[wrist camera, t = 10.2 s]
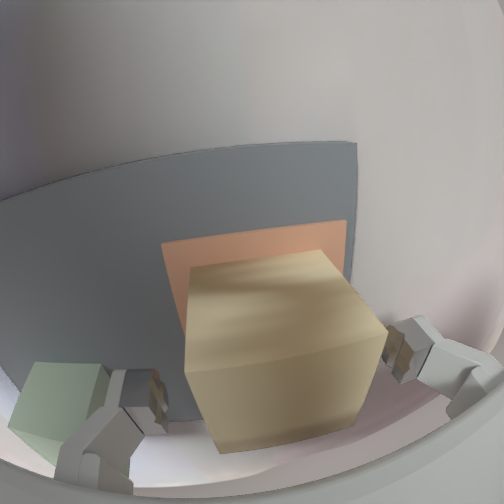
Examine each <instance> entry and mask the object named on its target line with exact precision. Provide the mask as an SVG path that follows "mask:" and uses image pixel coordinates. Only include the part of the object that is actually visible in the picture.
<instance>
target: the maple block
mask: <svg viewBox="0 0 504 504" xmlns="http://www.w3.org/2000/svg"><path fill="white" fill-rule="evenodd" d="M387 335H388V331H387V330H386V328H385V327H384V326H383V324H382V323H381V322H380V321H379V319H378V318H377V317H376V316H375V314H374V313H373V312H372V311H371V309H370V308H369V307H368V306H367V304H366V303H365V302H364V301H363V299H362V298H361V297H360V296H359V294H358V293H357V292H356V291H355V290H354V288H353V287H352V286H351V285H350V284H349V282H348V281H347V280H346V279H345V278H344V276H343V275H342V274H341V273H340V272H339V270H338V269H337V268H336V267H335V266H334V265H333V263H332V262H331V261H330V260H329V259H328V258H327V256H326V255H325V254H324V253H323V252H322V251H321V250H314V251H306V252H299V253H292V254H285V255H278V256H270V257H263V258H256V259H249V260H241V261H234V262H226V263H219V264H211V265H204V266H196V267H190V278H189V290H188V304H187V320H186V339H185V365H184V373H185V376H186V378H187V381H188V383H189V386H190V388H191V391H192V393H193V396H194V398H195V401H196V403H197V405H198V408H199V410H200V412H201V415H202V417H203V419H204V421H205V424H206V426H207V428H208V430H209V432H210V435H211V437H212V439H213V441H214V443H215V445H216V447H217V449H218V451H219V453H220V454H225V453H234V452H242V451H249V450H256V449H262V448H268V447H273V446H279V445H284V444H288V443H293V442H297V441H301V440H306V439H309V438H313V437H317V436H321V435H324V434H328V433H331V432H335V431H338V430H341V429H344V428H347V427H350V426H353V425H354V423H355V420H356V418H357V416H358V414H359V412H360V409H361V407H362V405H363V402H364V400H365V397H366V395H367V392H368V390H369V387H370V385H371V382H372V380H373V377H374V374H375V372H376V369H377V366H378V363H379V360H380V357H381V354H382V351H383V348H384V345H385V342H386V339H387Z"/></svg>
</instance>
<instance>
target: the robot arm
mask: <svg viewBox="0 0 504 504" xmlns="http://www.w3.org/2000/svg"><path fill="white" fill-rule="evenodd" d="M386 330H387V331H388V335H387V339H386V342H385V345H384V348H383V351H382V354H381V355H382V358H383V360H384V362H385V364H386V365H388V366H390V367H392V374H393V376H394V377H395V379H396V380H397V382H398V383H399V385H401V384H404V383H406V382H409V381H411V380H413V379H416V378H417V379H418V380H419V381H421V382H423V383H424V384H426V385H428V386H429V387H431V388H433V389H434V390H436V391H438V392H439V393H441V394H443V395H445V396H446V397H448V398H450V399H451V400H452V401H451V402H450V404H449V405H448V406H447V408H446V413H447V414H448V416H449V417H450V419H451V421H449V422H448V423H446V424H444V425H443V426H441V427H439V428H438V429H436V430H435V431H433V432H431V433H429V434H428V435H426V436H424V437H422V438H420V439H419V440H417V441H415V442H413V443H411V444H409V445H407V446H405V447H403V448H401V449H399V450H397V451H395V452H393V453H390V454H388V455H386V456H384V457H381V458H379V459H377V460H374V461H372V462H369V463H367V464H364V465H362V466H359V467H356V468H354V469H351V470H348V471H345V472H342V473H339V474H336V475H333V476H330V477H326V478H323V479H320V480H316V481H312V482H308V483H305V484H300V485H296V486H292V487H287V488H282V489H277V490H272V491H266V492H260V493H253V494H246V495H238V496H227V497H212V498H159V497H145V496H135V495H133V482H132V481H131V480H130V479H129V478H127V477H126V476H124V475H123V474H122V473H120V472H121V470H122V469H123V467H124V466H125V464H126V463H127V462H128V460H129V459H130V457H131V456H132V454H133V453H134V451H135V450H136V448H137V447H138V445H139V444H140V442H141V441H142V439H143V438H144V435H163V434H167V433H168V418H167V416H166V414H165V412H166V410H167V409H168V406H169V400H168V393H167V389H166V387H165V384H164V383H163V382H161V381H159V380H160V374H159V372H158V370H157V369H155V368H153V369H115V370H114V371H113V372H112V375H111V379H110V383H109V387H108V391H107V395H106V399H105V404H104V407H99V408H98V409H97V410H96V411H95V412H94V413H93V414H92V415H91V416H90V417H89V418H88V419H87V420H86V421H85V422H84V423H83V424H82V425H81V426H80V427H79V428H78V429H77V430H76V431H75V432H74V433H73V434H72V435H71V436H70V437H69V438H68V439H67V440H66V441H65V442H64V443H63V444H62V445H61V446H60V450H59V455H58V459H57V464H56V469H55V475H54V479H53V478H49V477H46V476H43V475H40V474H37V473H35V472H32V471H29V470H27V469H24V468H22V467H19V466H17V465H14V464H12V463H10V462H7V461H5V460H3V459H1V458H0V504H504V368H503V367H502V366H501V365H500V364H499V362H498V361H497V360H496V359H495V358H494V357H493V356H492V355H490V354H487V353H485V352H482V351H480V350H477V349H474V348H472V347H469V346H466V345H464V344H461V343H459V342H456V341H454V340H451V339H448V338H447V339H444V338H443V336H442V335H441V334H440V333H439V332H438V331H437V330H436V329H435V328H434V327H433V326H432V325H431V324H430V322H429V321H428V320H427V319H426V318H425V317H424V316H422V315H418V316H415V317H412V318H410V319H406V320H403V321H400V322H397V323H394V324H391V325H389V326H388V327H387V328H386Z"/></svg>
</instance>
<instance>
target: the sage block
mask: <svg viewBox="0 0 504 504" xmlns="http://www.w3.org/2000/svg"><path fill="white" fill-rule="evenodd" d="M109 383H110V377H109V376H108V374H107V372H106V371H105V369H104V367H103V366H102V364H82V363H50V362H35V363H34V365H33V367H32V369H31V371H30V373H29V375H28V377H27V380H26V382H25V384H24V386H23V389H22V391H21V393H20V396H19V398H18V400H17V403H16V405H15V408H14V410H13V413H12V416H11V418H10V421H9V424H8V428H9V429H10V430H11V431H12V432H14V433H15V434H16V435H17V436H18V437H19V438H20V439H21V440H22V441H24V442H25V443H26V444H27V445H28V446H29V447H31V448H32V449H33V450H34V451H35V452H37V453H38V454H39V455H41V456H42V457H43V458H44V459H46V460H47V461H48V462H50V463H51V464H52V465H54V466H55V467H56V464H57V459H58V455H59V450H60V446H61V445H62V444H63V443H64V442H65V441H66V440H67V439H68V438H69V437H70V436H71V435H72V434H73V433H74V432H75V431H76V430H77V429H78V428H79V427H80V426H81V425H82V424H83V423H84V422H85V421H86V420H87V419H88V418H89V417H90V416H91V415H92V414H93V413H94V412H95V411H96V410H97V409H98V408H99V407H104V404H105V399H106V395H107V391H108V387H109ZM129 468H130V459H129V460H128V462H127V463H126V464H125V466H124V467H123V469H122V470H121V472H120V473H122V474H123V475H124V476H126V477H127V478H129Z"/></svg>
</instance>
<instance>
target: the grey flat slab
mask: <svg viewBox="0 0 504 504" xmlns="http://www.w3.org/2000/svg"><path fill="white" fill-rule="evenodd" d="M356 194H357V143H352V142H346V141H313V142H285V143H268V144H254V145H243V146H233V147H223V148H215V149H207V150H199V151H192V152H185V153H179V154H173V155H167V156H161V157H156V158H150V159H145V160H140V161H135V162H130V163H126V164H121V165H117V166H112V167H108V168H104V169H100V170H96V171H92V172H88V173H85V174H81V175H77V176H74V177H70V178H67V179H63V180H60V181H57V182H54V183H51V184H47V185H44V186H41V187H38V188H35V189H32V190H30V191H27V192H24V193H21V194H18V195H16V196H13V197H10V198H8V199H5V200H3V201H0V366H1V367H2V369H3V370H4V372H5V373H6V374H7V376H8V377H9V378H10V379H11V381H12V382H13V383H14V385H15V386H16V387H17V388H18V390H19V391H20V392H21V391H22V389H23V386H24V384H25V382H26V380H27V377H28V375H29V373H30V371H31V369H32V367H33V365H34V363H35V362H50V363H82V364H102V366H103V367H104V369H105V371H106V372H107V374H108V376H109V377H110V379H111V375H112V372H113V371H114V370H115V369H153V368H155V369H157V370H158V372H159V374H160V380H159V381H161V382H163V383H164V384H165V387H166V389H167V393H168V400H169V406H168V409H167V410H166V412H165V414H166V416H167V418H168V422H174V421H192V420H204V419H203V417H202V415H201V412H200V410H199V408H198V405H197V403H196V401H195V398H194V396H193V393H192V391H191V388H190V386H189V383H188V381H187V378H186V376H185V373H184V365H185V339H186V320H187V304H188V290H189V278H190V267H196V266H204V265H211V264H219V263H226V262H234V261H241V260H249V259H256V258H263V257H270V256H278V255H285V254H292V253H299V252H306V251H314V250H321V251H322V252H323V253H324V254H325V255H326V256H327V258H328V259H329V260H330V261H331V262H332V263H333V265H334V266H335V267H336V268H337V269H338V270H339V272H340V273H341V274H342V275H343V276H344V278H345V279H346V280H347V281H348V282H349V284H350V275H351V266H352V256H353V245H354V232H355V216H356Z"/></svg>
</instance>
